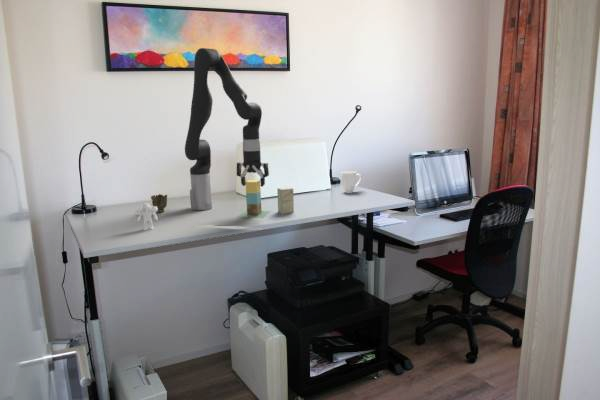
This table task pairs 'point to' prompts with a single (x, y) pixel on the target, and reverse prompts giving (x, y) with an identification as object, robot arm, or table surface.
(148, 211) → the flower shoulder figurine
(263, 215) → the plate
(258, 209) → the walnut brick
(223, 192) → the table surface
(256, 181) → the mustard brick
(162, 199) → the cup
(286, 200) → the skincare box
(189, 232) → the table surface
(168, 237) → the table surface
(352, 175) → the mug
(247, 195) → the teal brick
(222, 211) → the table surface
